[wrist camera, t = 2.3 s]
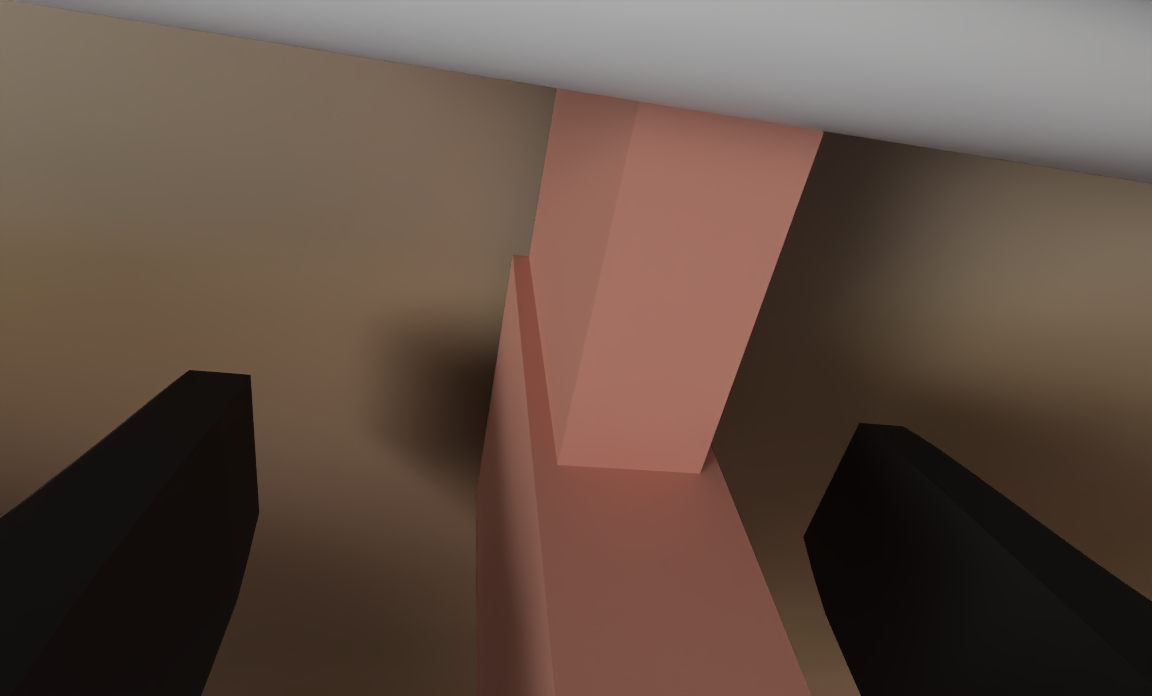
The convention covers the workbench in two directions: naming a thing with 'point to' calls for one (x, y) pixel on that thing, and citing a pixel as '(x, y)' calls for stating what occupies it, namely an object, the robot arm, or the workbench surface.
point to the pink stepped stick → (632, 411)
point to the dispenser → (770, 61)
